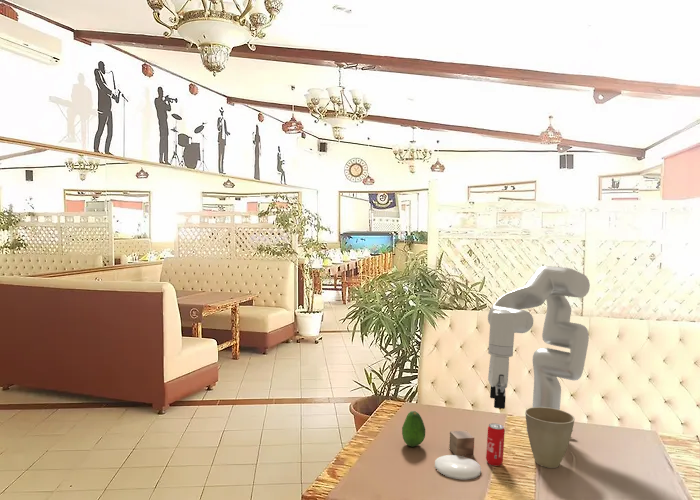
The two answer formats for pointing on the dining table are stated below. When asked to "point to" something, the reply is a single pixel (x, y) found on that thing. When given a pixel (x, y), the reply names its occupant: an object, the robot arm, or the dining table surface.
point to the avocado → (413, 429)
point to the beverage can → (495, 444)
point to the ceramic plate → (458, 467)
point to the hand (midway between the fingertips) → (497, 403)
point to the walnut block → (461, 443)
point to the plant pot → (548, 434)
